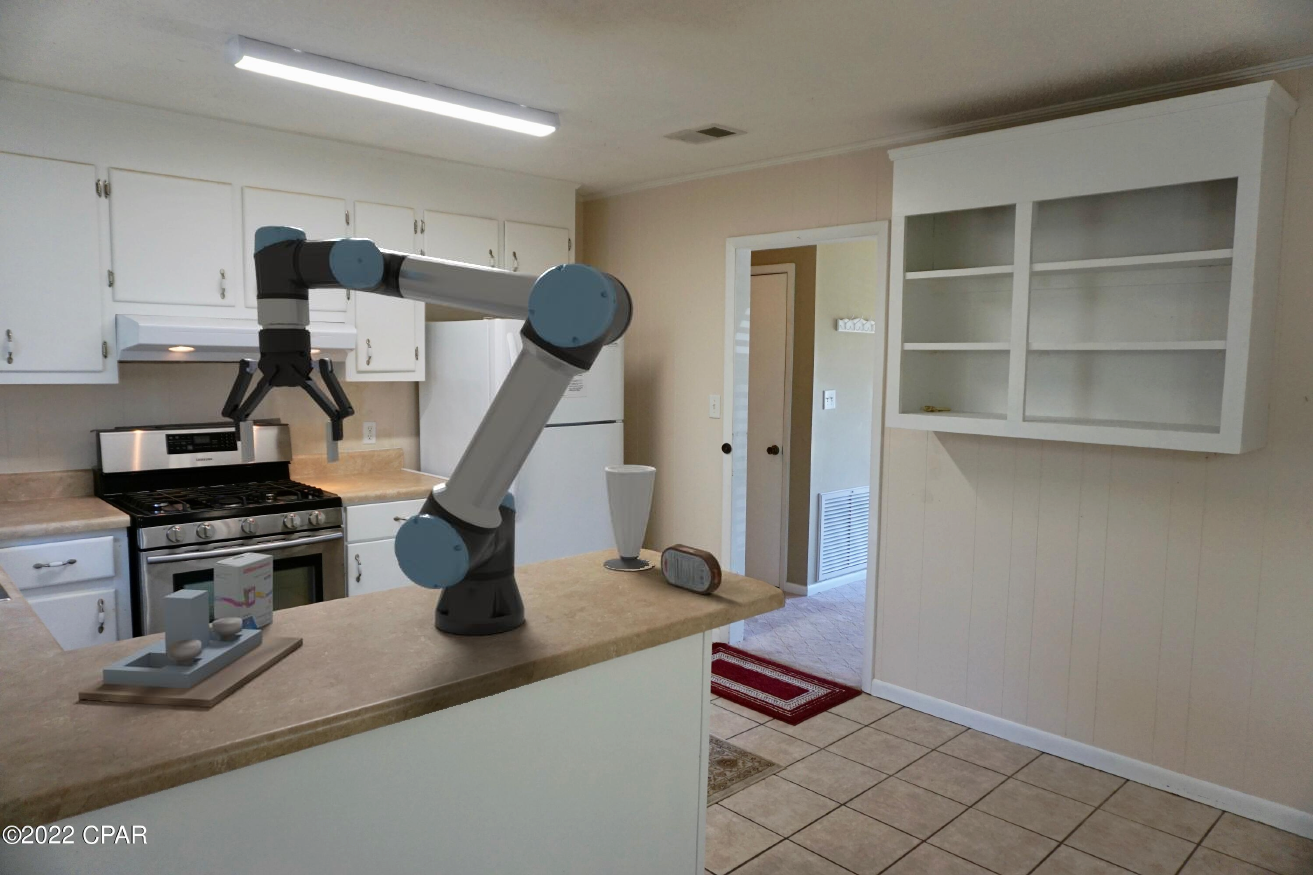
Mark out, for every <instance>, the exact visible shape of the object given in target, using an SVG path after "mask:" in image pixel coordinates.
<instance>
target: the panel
mask: <svg viewBox="0 0 1313 875" xmlns="http://www.w3.org/2000/svg"><path fill="white" fill-rule="evenodd" d="M209 602H210V600H209V590H205V589H204V590H203V589H200V590H199V589H183V588H182V589H180V590H178V591H175V592H173V593H170V594H168V595H166V596H163V609H164V610H163V611H164V612H163V614H164V615H163V616H164V638H161V639H159V640H158V641H156V642H154V643H152V644H150V645H148V646H146V647H144V648H142V649H141V650H138V651H136V652H135V653H134V652H133V653H132V654H130V655H128V656H126V657H124V658H123V659H121V660H118V661H117V662H114V663H112V664H110V665H108V666H107V667H104V668H102V677H103V679H102V680H103V682H104V684H118V685H136V686H154V687H172V688H191V687H192V686H194V685H195V684H197V683H199V682H200V681H202V680H203V679H205V678H207V677H208V676H210V675H211V674H213V673H215V672H216V671H218V670H219V669H221V668H223V667H224V666H226V665H227V664H229V663H231V662H232V661H234V660H235V659H237V658H239V657H240V656H242V655H243V654H245V653H247V652H248V651H250V650H251V649H253V648H255V647H256V646H258V645H259V644H261V643H262V636H263V629H256V630H252V629H242V631H241V632H239V633H237V634H235V640H234V641H232V642H231V641H220V636H217V635H213V634H212V626H211V627H210V609H209ZM190 639H193V640H199V641H201V655H199V656H197V657H195V658H193V663H194V664H193V665H191V666H177V660H171V659H169V658H168V645H169V644H171V643H173V642H177V641H181V640H190ZM149 666H157V667H162V668H147V667H149Z"/></svg>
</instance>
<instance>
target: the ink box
mask: <svg viewBox="0 0 1313 875" xmlns="http://www.w3.org/2000/svg"><path fill="white" fill-rule="evenodd" d="M273 558H274V556H273V555H272V554H271V555H270V554H264V553H255V552H245V553H242V554H237V555H235V556H231V557H228V558H225V559H221V560H219V561H216V563H214V564H213V588H214V589H213V600H214V601H213V602H214V603H213V609H214V610H213V611H214V612H213V613H214V615H213V616H214V617H213V618H214V619H213V620H214V621H215V620H218V619H222V618H229V617H236V618H241V619H242V629H252V630H259V629H260V628H261V627H264V626H266V625H269V624H271V623H273V621H274V614H273V613H274V612H273V611H274V609H273V608H274V606H273V605H274V604H273V603H274V602H273V601H274V600H273V598H274V597H273V596H274V592H273V591H274V590H273V586H274V585H273V584H274V583H273V582H274V580H273V579H274V577H273V575H274V573H273V572H274V568H273V567H274V562H273V561H274V560H273Z"/></svg>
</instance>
